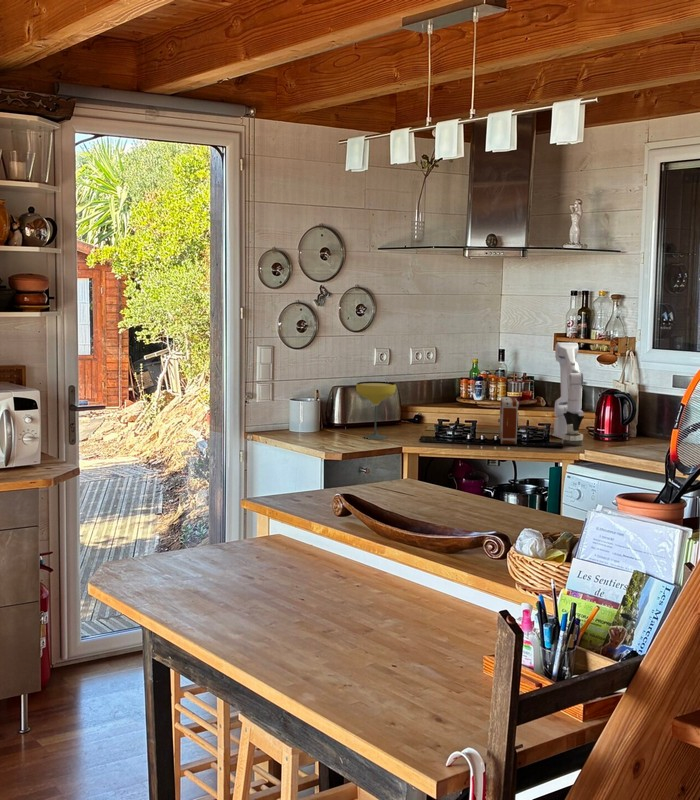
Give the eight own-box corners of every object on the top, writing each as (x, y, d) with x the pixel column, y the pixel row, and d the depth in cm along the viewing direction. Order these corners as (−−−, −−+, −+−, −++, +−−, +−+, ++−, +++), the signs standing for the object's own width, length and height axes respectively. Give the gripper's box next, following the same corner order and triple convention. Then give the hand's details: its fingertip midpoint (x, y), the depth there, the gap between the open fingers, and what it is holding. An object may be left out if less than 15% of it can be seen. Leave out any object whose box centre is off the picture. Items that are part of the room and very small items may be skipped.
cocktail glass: (388, 433, 472) (389, 380, 469) (400, 440, 455) (400, 385, 452) (351, 435, 468) (351, 381, 464) (361, 441, 450) (362, 386, 447)
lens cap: (564, 432, 450) (565, 423, 450) (575, 431, 451) (575, 423, 451) (569, 434, 445) (570, 425, 445) (580, 433, 447) (580, 425, 446)
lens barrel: (558, 442, 452) (558, 433, 452) (576, 442, 455) (577, 432, 454) (567, 446, 444) (568, 436, 443) (586, 445, 446) (586, 435, 445)
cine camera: (516, 438, 464) (517, 395, 461) (519, 445, 445) (520, 400, 442) (496, 437, 465) (497, 394, 462) (498, 445, 446) (499, 400, 443)
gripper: (558, 397, 452) (557, 427, 454) (573, 402, 438) (572, 432, 440) (572, 397, 454) (571, 426, 456) (588, 401, 440) (587, 432, 442)
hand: (573, 429), depth 448 cm, fingers closed on lens cap, 5 cm apart
